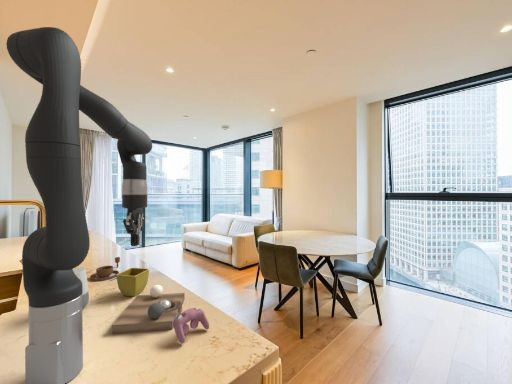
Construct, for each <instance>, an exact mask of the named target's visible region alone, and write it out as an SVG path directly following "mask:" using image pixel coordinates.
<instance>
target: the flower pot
mask: <svg viewBox="0 0 512 384" xmlns="http://www.w3.org/2000/svg"><path fill="white" fill-rule="evenodd" d="M115 275H116V274H115ZM149 275H150V268H141V267H130V268H128V269H127V270H124V271H121V272H119V274H117V275H116V277H115V278H116V282H117V283H116V284H117V287H118V290H119V291H120V292H121V294H122V295H123V296H127V297H137V296H138V295H140V293H142V292H144V290H145V288H146V286H147V284H148V281H149Z"/></svg>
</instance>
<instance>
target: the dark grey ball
mask: <svg viewBox="0 0 512 384" xmlns="http://www.w3.org/2000/svg"><path fill="white" fill-rule="evenodd" d="M162 313H163V306H162V305H161V304H160V303H153V304H152V305H151V306H150V307H149V308H148V316H149V317H150V318H152V319H156V318H159V317H160V316H161V315H162Z"/></svg>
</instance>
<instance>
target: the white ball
mask: <svg viewBox="0 0 512 384" xmlns="http://www.w3.org/2000/svg"><path fill="white" fill-rule="evenodd" d="M163 292H164V288H163V286H162V285H160V284H154V285H152V287H150V290H149V295H151V296H152V297H154V298H157V297H159V296H161V295H162V294H164V293H163Z"/></svg>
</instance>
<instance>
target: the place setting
mask: <svg viewBox="0 0 512 384" xmlns="http://www.w3.org/2000/svg"><path fill="white" fill-rule="evenodd" d="M114 262H115V263H116V267H115V268H116V269H117V268H118V267H119V263H120V262H121V257H120V256H116V257H114ZM116 269H115V270H114V266H113V265H102V266H99V267H97V268H96V270H95V271H96V272H95V273H93V274H91V275H90V276H89V279H90V280H91V281H94V282H103V281H108V280H109V282H112V281H114V280H117V277H116V275H117V274H119V273H120V271H119V270H116ZM114 273H115V274H114ZM112 274H113V275H112ZM96 277H99V278H96Z"/></svg>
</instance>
